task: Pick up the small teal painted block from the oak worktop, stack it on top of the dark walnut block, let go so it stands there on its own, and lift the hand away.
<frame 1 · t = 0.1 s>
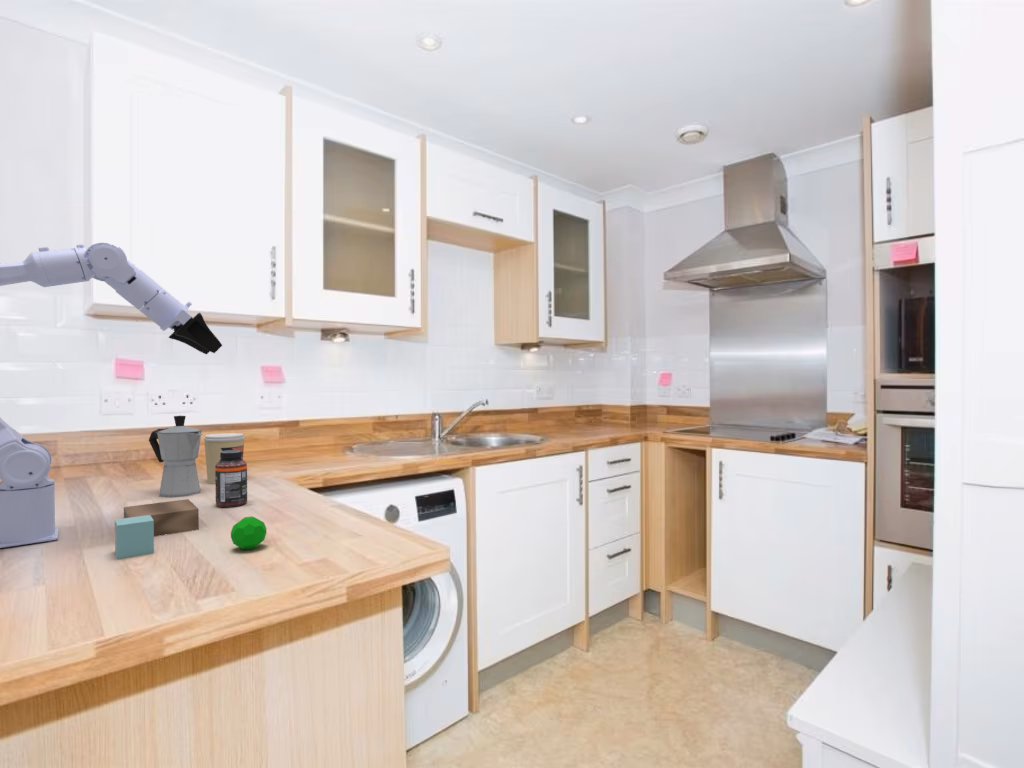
hand: (214, 350, 107), 32 cm above the worktop, tool tilted 50°, fingers open, 7 cm apart
coffee cup: (224, 481, 141), on the worktop
polyhedron: (249, 549, 85), on the worktop
supplement bottle: (231, 505, 114), on the worktop
teal block: (134, 552, 83), on the worktop
walnut block: (161, 530, 96), on the worktop
coffee maker: (176, 493, 126), on the worktop
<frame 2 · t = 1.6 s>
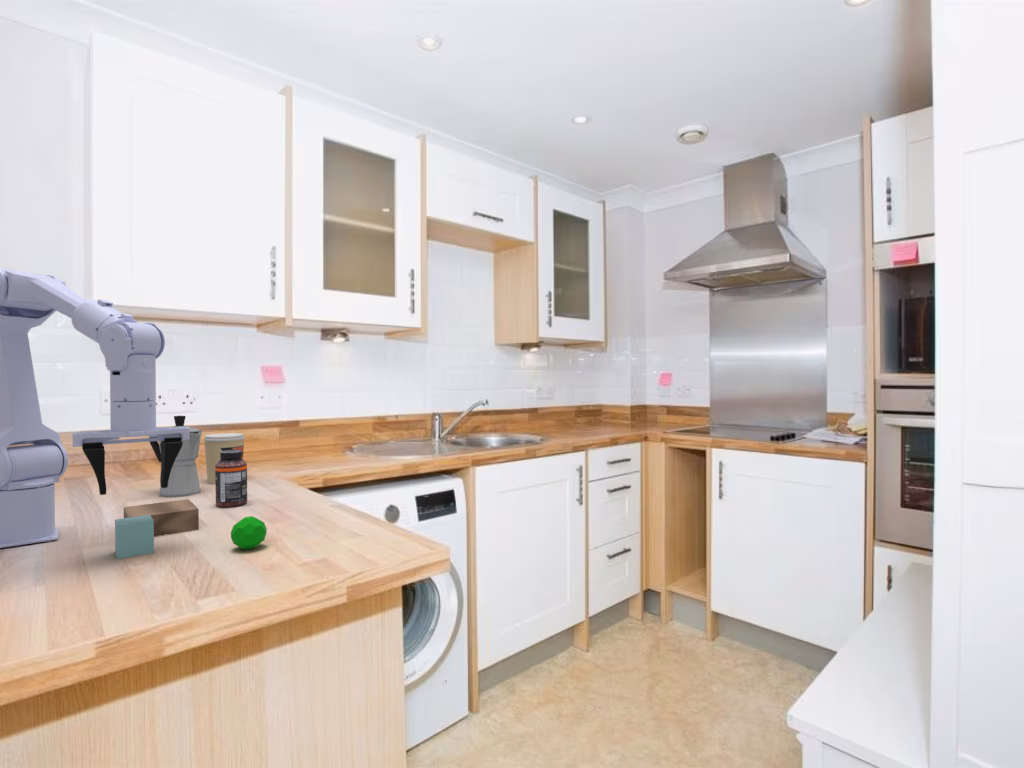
hand: (134, 490, 83), 9 cm above the worktop, tool pointing down, fingers open, 7 cm apart
nothing on the worktop moved.
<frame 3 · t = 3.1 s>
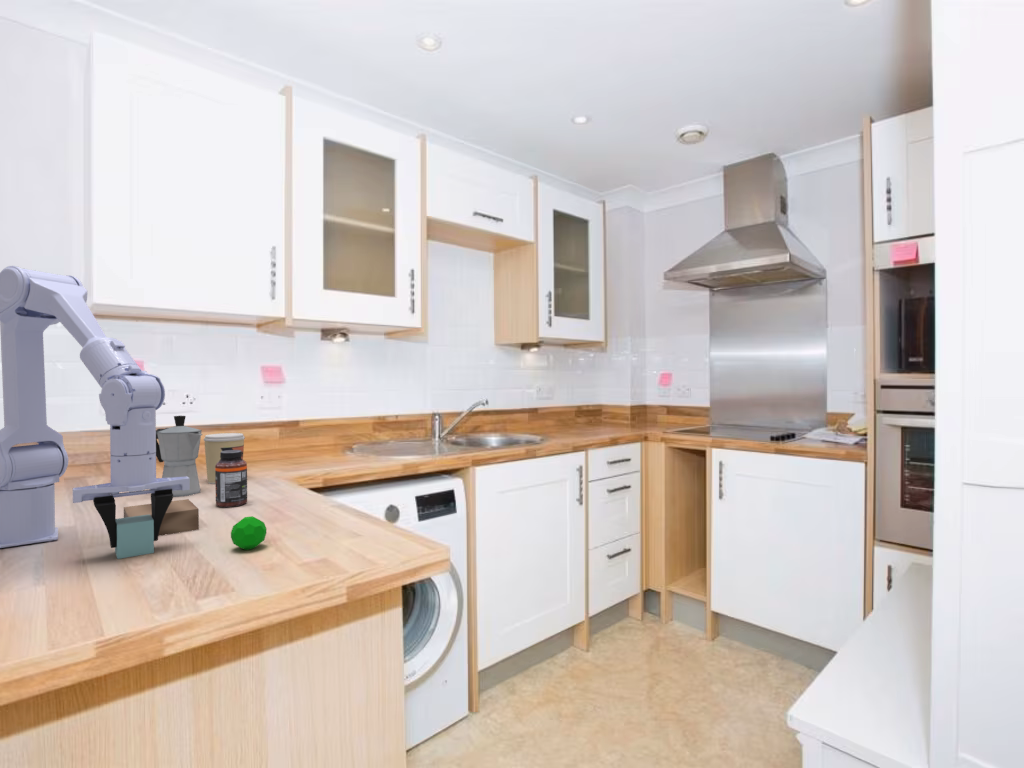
hand: (134, 542, 83), 1 cm above the worktop, tool pointing down, fingers closed on teal block, 4 cm apart
teal block: (134, 552, 83), on the worktop, touching gripper
everything else where it was.
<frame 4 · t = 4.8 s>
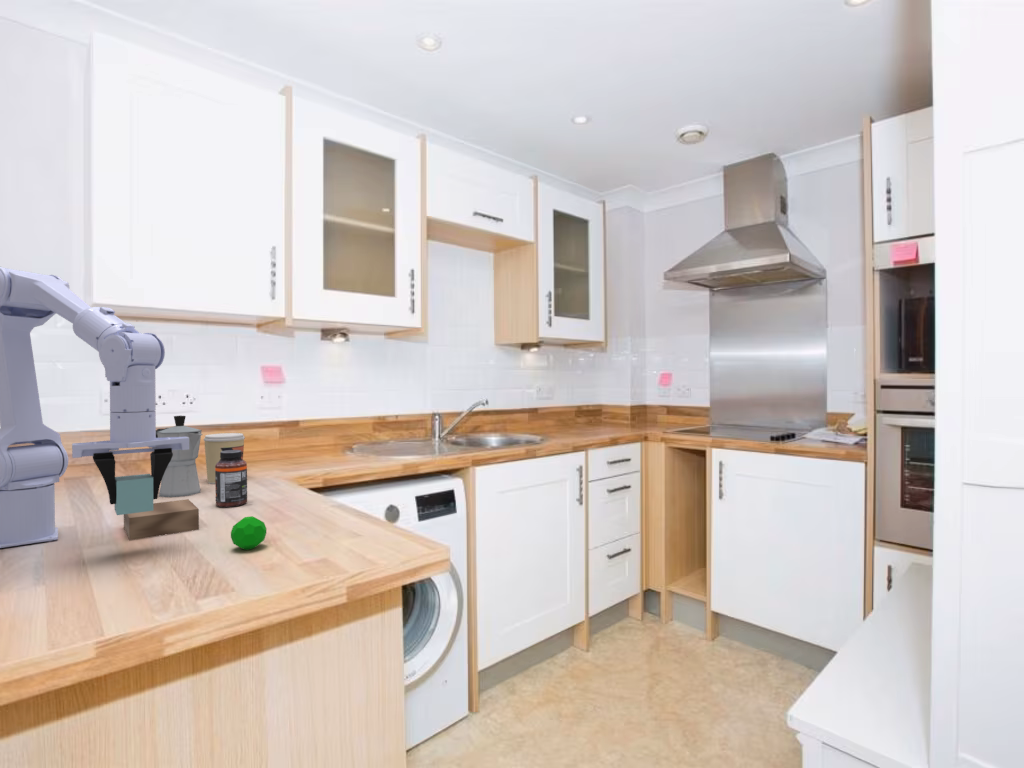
hand: (133, 500, 83), 8 cm above the worktop, tool pointing down, fingers closed on teal block, 4 cm apart
teal block: (133, 510, 83), point 6 cm above the worktop, touching gripper
everything else where it was.
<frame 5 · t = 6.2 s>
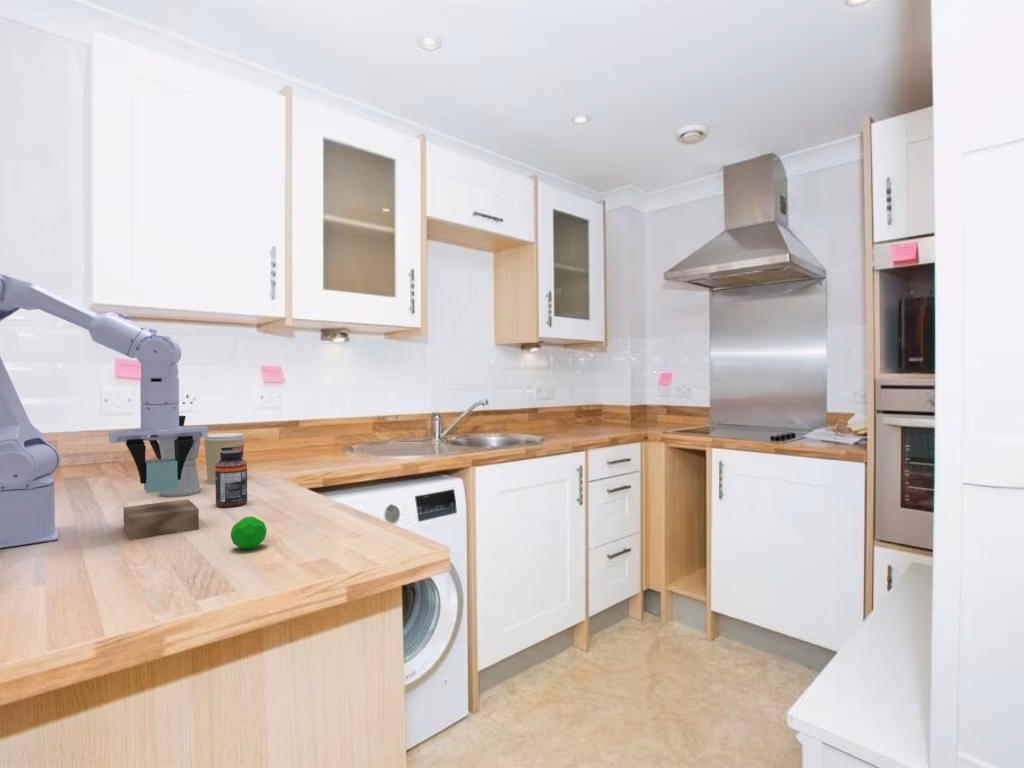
hand: (160, 480, 96), 8 cm above the worktop, tool pointing down, fingers closed on teal block, 4 cm apart
teal block: (160, 489, 96), point 7 cm above the worktop, touching gripper
everything else where it was.
when the fingers open (7 cm above the worktop, at t = 7.0 s): teal block drops 2 cm, point 4 cm above the worktop.
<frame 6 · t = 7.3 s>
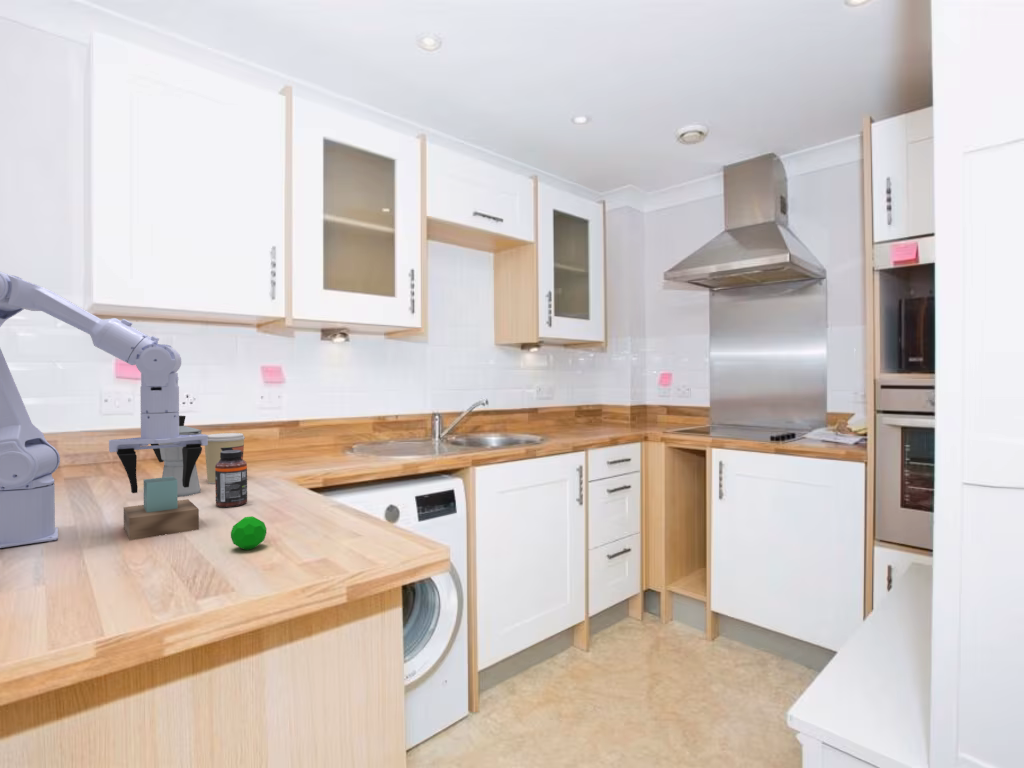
hand: (160, 489, 96), 7 cm above the worktop, tool pointing down, fingers open, 7 cm apart
teal block: (160, 508, 96), point 4 cm above the worktop
everything else where it was.
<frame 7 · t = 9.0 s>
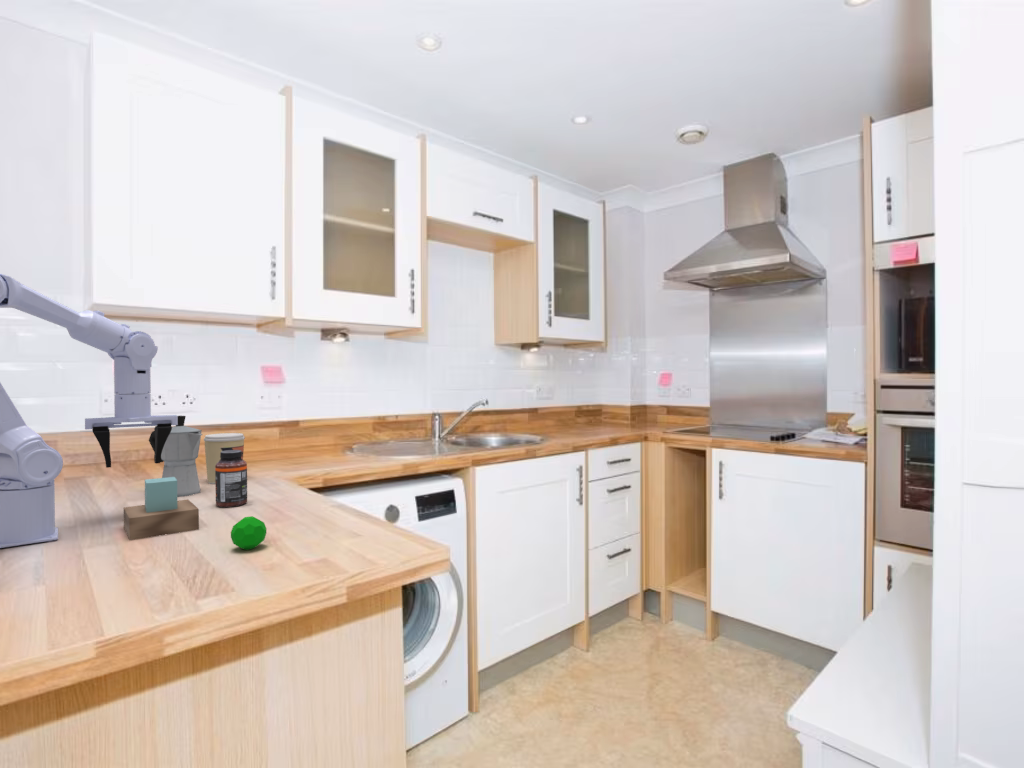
hand: (133, 464, 105), 10 cm above the worktop, tool pointing down, fingers open, 7 cm apart
teal block: (161, 508, 96), point 4 cm above the worktop, touching walnut block
walnut block: (161, 530, 96), on the worktop, touching teal block
everything else where it was.
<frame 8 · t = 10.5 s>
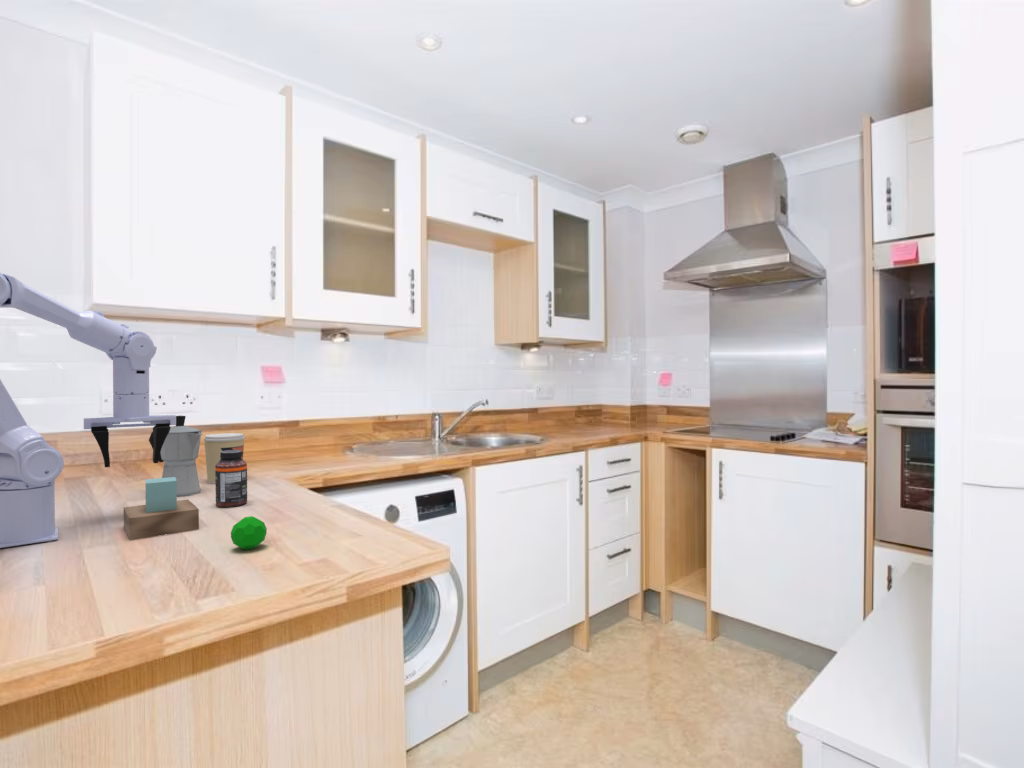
hand: (132, 464, 105), 10 cm above the worktop, tool pointing down, fingers open, 7 cm apart
teal block: (161, 508, 96), point 4 cm above the worktop
walnut block: (161, 530, 96), on the worktop
everything else where it was.
at the end: teal block 0.3 cm off-centre on the walnut block, point 4.0 cm above the walnut block's base; teal block tilted 0°; the gripper is holding nothing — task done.
